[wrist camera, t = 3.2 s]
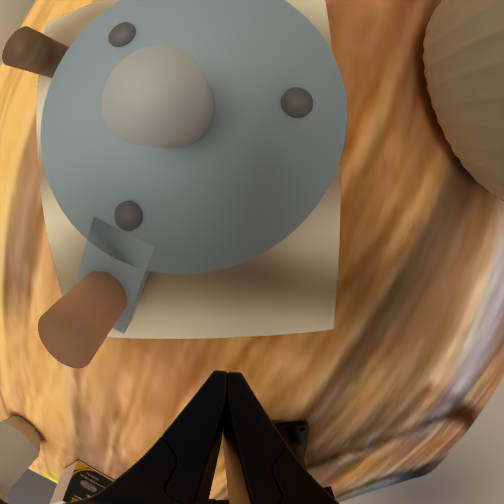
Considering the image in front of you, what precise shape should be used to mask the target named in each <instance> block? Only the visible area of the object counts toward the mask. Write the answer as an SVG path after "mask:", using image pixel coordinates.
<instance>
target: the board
mask: <svg viewBox="0 0 504 504" xmlns="http://www.w3.org/2000/svg"><path fill="white" fill-rule="evenodd" d="M119 1H120V0H101V1H98V2H95V3H93V4H90V5H87V6H85V7H82V8H79V9H77V10H75V11H72V12H70V13H67V14H65V15H63V16H61V17H58V18H56V19H54V20H52V21H50V22H48V23H46V26H45V31H44V34H42V33H40V32H38V31H36V30H34V29H32V28H30V27H27V26H26V27H22V28H20V29H18V30H17V31H16V32H15V33H14V34H13V35H12V36H11V37H10V38H9V40H8V42H7V43H6V45H5V48H4V50H3V55H2V59H3V63H4V64H5V65H8V66H12V67H15V68H19V69H22V70H26V71H29V72H33V73H36V74H39V77H38V91H37V154H38V169H39V180H40V189H41V197H42V205H43V211H44V218H45V224H46V229H47V235H48V240H49V245H50V249H51V254H52V258H53V263H54V267H55V271H56V275H57V279H58V282H59V286H60V289H61V293H62V296H63V295H65V294H66V293H67V292H68V291H69V290H70V289H71V288H72V287H74V286H75V285H76V282H77V278H78V273H79V269H80V265H81V261H82V257H83V253H84V249H85V245H86V242H87V239H86V238H85V237H84V236H83V235H82V234H81V233H80V232H79V231H78V230H77V229H76V228H75V227H74V226H73V225H72V224H71V222H70V221H69V220H68V218H67V217H66V215H65V214H64V213H63V211H62V210H61V208H60V206H59V204H58V202H57V201H56V199H55V197H54V195H53V193H52V190H51V188H50V185H49V182H48V179H47V177H46V173H45V168H44V164H43V159H42V150H41V120H42V114H43V107H44V103H45V99H46V95H47V92H48V88H49V85H50V83H51V80H52V78H53V76H54V73H55V71H56V69H57V67H58V65H59V63H60V62H61V60H62V58H63V56H64V55H65V53H66V52H67V50H68V49H69V47H70V46H71V45H72V43H73V42H74V41H75V39H76V38H77V37H78V36H79V35H80V33H81V32H82V31H83V30H84V29H85V28H86V27H87V26H88V25H89V24H90V23H91V22H92V21H93V20H94V19H96V18H97V17H98V16H99V15H100V14H102V13H103V12H104V11H105V10H107V9H108V8H110V7H111V6H113V5H114V4H116V3H117V2H119ZM285 1H286V2H288V3H289V4H291V5H292V6H293V7H295V8H296V9H297V10H298V11H300V12H301V13H302V14H303V15H304V16H306V18H307V19H308V20H309V21H310V22H311V23H312V24H313V25H314V26H315V27H316V28H317V30H318V31H319V32H320V33H321V35H322V36H323V38H324V39H325V41H326V42H327V44H328V45H329V47H330V49H331V51H332V44H331V36H330V29H329V22H328V15H327V9H326V3H325V0H285ZM332 53H333V52H332ZM339 243H340V162H339V166H338V168H337V170H336V173H335V175H334V177H333V179H332V181H331V184H330V186H329V188H328V189H327V191H326V192H325V194H324V196H323V197H322V199H321V200H320V202H319V203H318V205H317V206H316V207H315V209H314V210H313V211H312V212H311V213H310V215H309V216H308V217H307V218H306V219H305V221H304V222H303V223H302V224H301V225H300V226H298V227H297V228H296V229H295V230H294V231H293V232H292V233H291V234H290V235H289V236H288V237H286V238H285V239H283V240H282V241H281V242H279V243H278V244H276V245H275V246H274V247H272V248H271V249H269V250H267V251H266V252H264V253H262V254H260V255H258V256H256V257H254V258H252V259H251V260H248V261H245V262H243V263H240V264H238V265H235V266H232V267H229V268H225V269H221V270H217V271H213V272H207V273H198V274H166V273H159V272H153V271H149V274H148V277H147V279H146V282H145V285H144V287H143V290H142V293H141V296H140V298H139V301H138V304H137V307H136V310H135V313H134V316H133V318H132V321H131V323H130V325H129V326H128V328H127V330H126V331H125V333H124V334H123V333H121V332H119V331H117V330H115V329H113V328H112V329H111V331H110V332H109V334H108V335H107V337H115V338H144V339H204V338H234V337H254V336H270V335H283V334H295V333H306V332H316V331H325V330H333V329H334V319H335V308H336V296H337V282H338V265H339Z"/></svg>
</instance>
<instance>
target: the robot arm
mask: <svg viewBox="0 0 504 504" xmlns="http://www.w3.org/2000/svg"><path fill="white" fill-rule="evenodd" d="M308 429H309V428H308V423H307V422H295V423H286V424H273V423H272V421H271V420H270V418H269V417H268V415H267V413H266V412H265V410H264V409H263V407H262V406H261V404H260V402H259V401H258V399H257V398H256V396H255V394H254V393H253V391H252V390H251V388H250V386H249V385H248V383H247V381H246V380H245V378H244V376H243V375H242V374H241V373H238V372H229V373H227V372H226V371H217V370H215V371H214V372H213V373H212V374H211V375H210V377H209V378H208V379H207V380H206V382H205V383H204V384H203V385H202V387H201V388H200V389H199V391H198V392H197V393H196V394H195V396H194V397H193V398H192V399H191V401H190V402H189V403H188V404H187V406H186V407H185V408H184V409H183V410H182V412H181V413H180V414H179V415H178V417H177V418H176V419H175V420H174V421H173V423H172V424H171V425H170V426H169V428H168V429H167V430H166V431H165V432H164V434H163V435H162V437H160V438H159V439H158V441H157V442H156V443H155V444H154V445H153V446H152V447H151V448H150V450H149V451H148V452H147V453H146V454H145V455H144V456H143V457H142V458H141V459H140V460H138V461H137V462H136V463H135V464H134V465H133V466H132V467H131V468H129V469H128V470H127V471H126V472H124V473H123V474H122V475H121V476H120V477H118V478H117V479H116V480H115V481H113V482H112V483H111V484H110V485H108V486H107V487H106V488H104V489H103V490H102V491H100V492H99V493H97V494H95V495H93V496H91V497H88V498H86V499H82V500H77V501H73V502H68V503H63V504H339V503H338V502H337V501H336V500H335V498H334V495H333V491H332V488H331V486H329V487H324V488H323V487H322V486H321V485H320V484H319V483H318V482H317V481H316V480H315V479H314V478H313V477H312V476H311V475H310V474H309V473H308V472H307V470H306V467H305V462H304V455H305V449H306V442H307V436H308ZM222 434H223V444H224V455H225V466H226V476H227V486H228V495H229V500H216V499H209V495H210V491H211V486H212V482H213V477H214V473H215V468H216V464H217V459H218V454H219V450H220V445H221V440H222ZM0 504H8V503H6V502H5V501H3V500H2V499H0Z"/></svg>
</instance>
